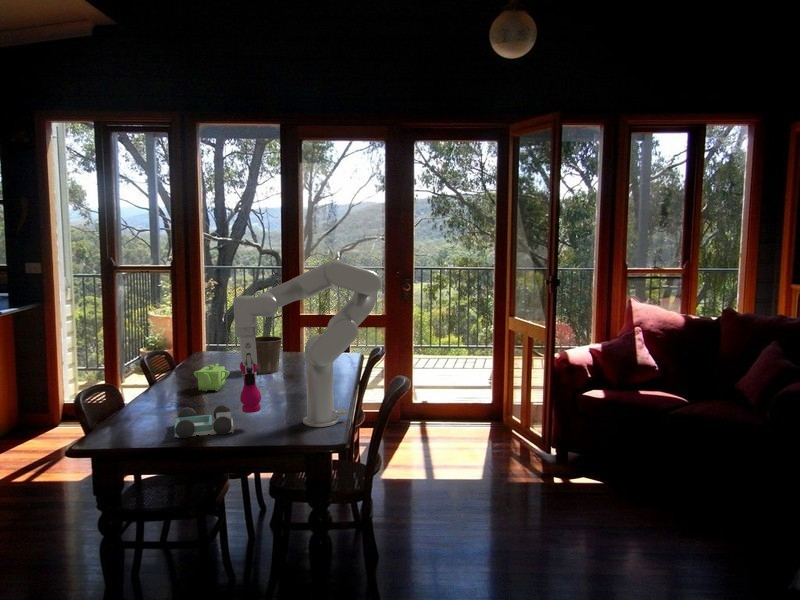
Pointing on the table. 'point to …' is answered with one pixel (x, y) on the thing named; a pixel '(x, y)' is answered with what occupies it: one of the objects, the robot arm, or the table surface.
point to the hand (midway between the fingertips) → (249, 382)
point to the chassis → (203, 422)
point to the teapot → (211, 377)
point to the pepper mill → (250, 393)
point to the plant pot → (267, 354)
